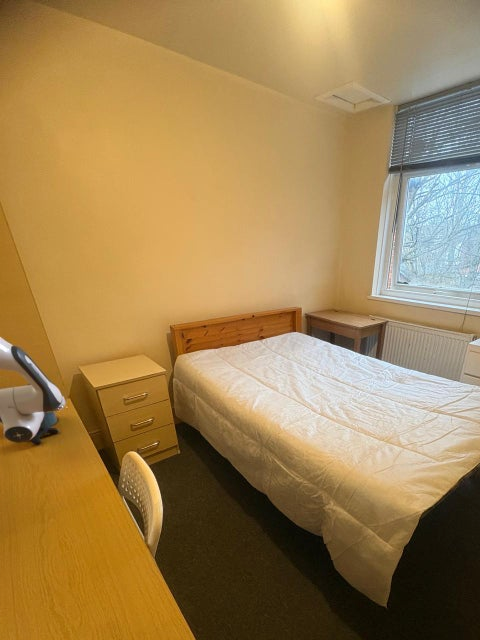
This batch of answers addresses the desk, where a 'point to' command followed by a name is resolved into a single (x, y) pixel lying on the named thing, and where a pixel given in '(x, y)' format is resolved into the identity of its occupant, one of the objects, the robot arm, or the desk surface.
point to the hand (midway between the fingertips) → (36, 398)
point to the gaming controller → (40, 432)
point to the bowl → (48, 419)
